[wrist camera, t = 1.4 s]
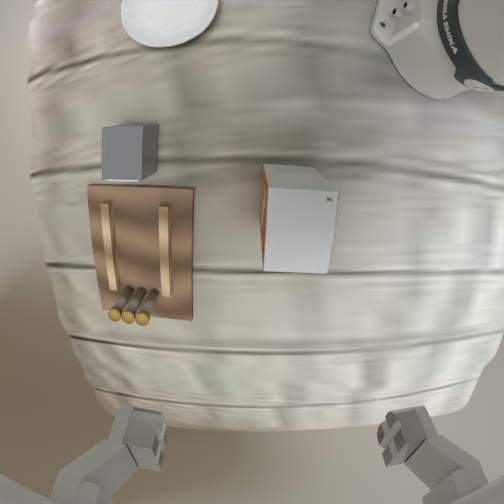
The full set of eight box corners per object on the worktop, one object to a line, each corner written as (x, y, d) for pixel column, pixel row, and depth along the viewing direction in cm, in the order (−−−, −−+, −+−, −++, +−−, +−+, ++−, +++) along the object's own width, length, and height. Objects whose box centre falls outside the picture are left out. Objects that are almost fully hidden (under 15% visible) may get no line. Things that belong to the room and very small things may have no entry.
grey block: (122, 125, 34) (102, 127, 28) (159, 124, 34) (143, 126, 29) (122, 171, 36) (102, 181, 31) (157, 172, 37) (141, 181, 31)
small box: (261, 162, 36) (266, 185, 24) (312, 165, 36) (341, 189, 25) (258, 224, 40) (262, 273, 28) (307, 226, 40) (329, 274, 28)
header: (90, 184, 37) (60, 199, 30) (194, 187, 38) (181, 204, 30) (105, 305, 45) (86, 335, 38) (192, 317, 46) (184, 351, 39)
